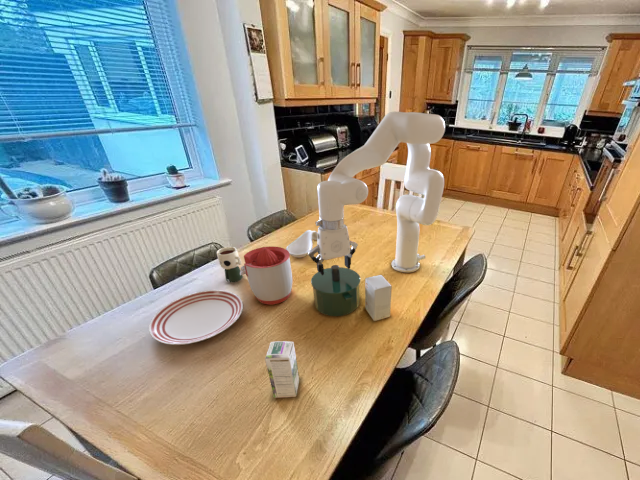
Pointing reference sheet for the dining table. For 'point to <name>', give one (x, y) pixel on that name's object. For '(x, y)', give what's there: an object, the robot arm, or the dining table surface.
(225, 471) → the dining table surface
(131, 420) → the dining table surface
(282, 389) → the syrup box
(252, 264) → the citrus juicer
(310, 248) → the spoon rest
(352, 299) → the pot
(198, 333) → the dinner plate
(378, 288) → the small box
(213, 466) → the dining table surface
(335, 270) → the lid
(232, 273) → the character mug
